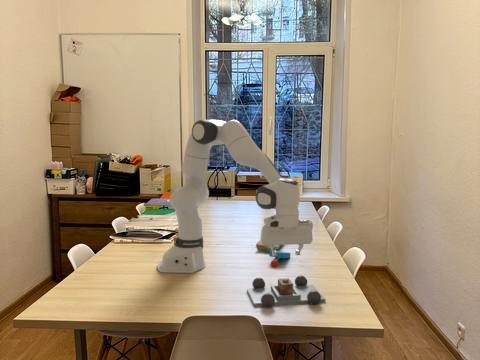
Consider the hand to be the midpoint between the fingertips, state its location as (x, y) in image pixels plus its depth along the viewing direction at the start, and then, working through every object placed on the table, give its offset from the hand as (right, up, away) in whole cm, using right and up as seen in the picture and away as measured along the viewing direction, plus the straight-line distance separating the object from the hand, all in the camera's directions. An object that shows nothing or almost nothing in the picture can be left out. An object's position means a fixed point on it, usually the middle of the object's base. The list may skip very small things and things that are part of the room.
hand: (286, 255), depth 165 cm
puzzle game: (-1, -8, +68) cm, 68 cm away
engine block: (0, -16, +2) cm, 16 cm away
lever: (+1, -11, +44) cm, 45 cm away
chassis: (0, -17, +2) cm, 17 cm away
